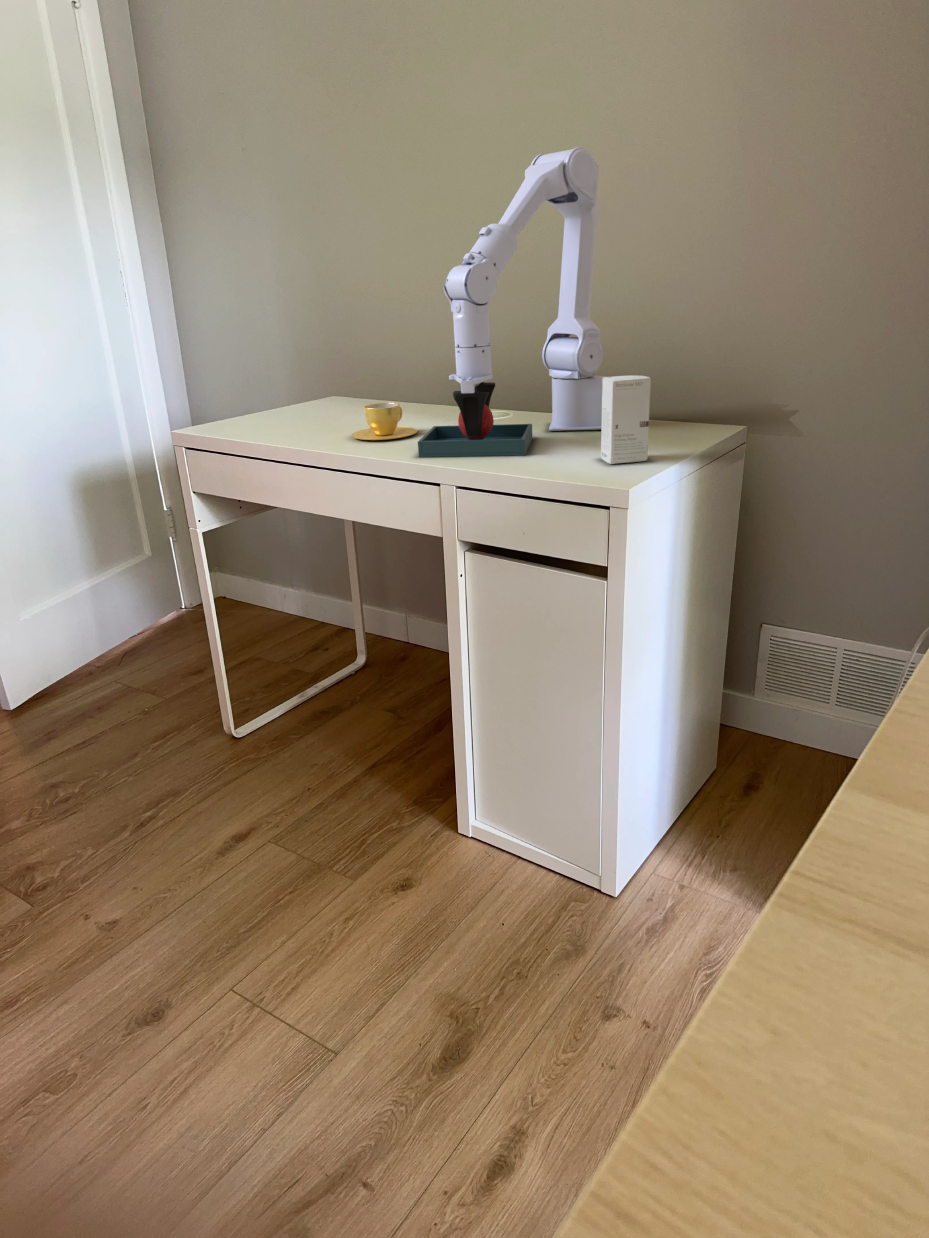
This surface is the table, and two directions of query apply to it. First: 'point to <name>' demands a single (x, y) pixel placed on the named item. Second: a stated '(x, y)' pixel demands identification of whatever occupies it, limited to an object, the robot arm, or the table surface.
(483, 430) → the onion
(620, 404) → the cosmetic box
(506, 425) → the tray
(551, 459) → the table surface
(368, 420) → the cup
